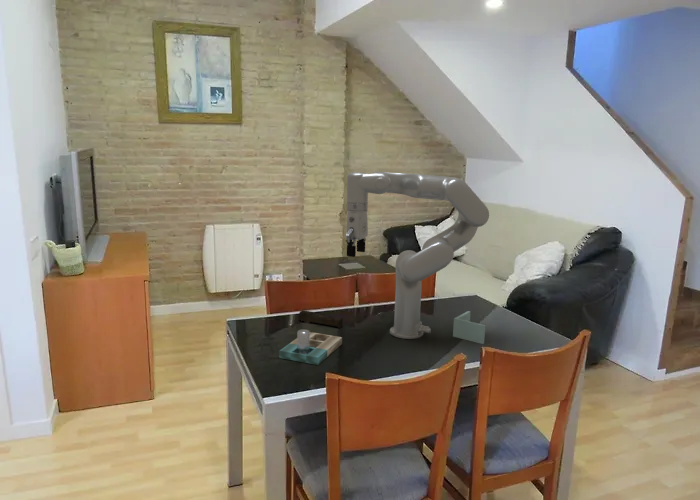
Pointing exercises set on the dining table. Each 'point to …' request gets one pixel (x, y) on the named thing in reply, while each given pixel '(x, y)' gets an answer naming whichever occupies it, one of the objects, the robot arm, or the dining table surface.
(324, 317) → the hand tool
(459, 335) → the right angle wall
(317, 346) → the hole board
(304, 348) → the peg
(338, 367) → the dining table surface
